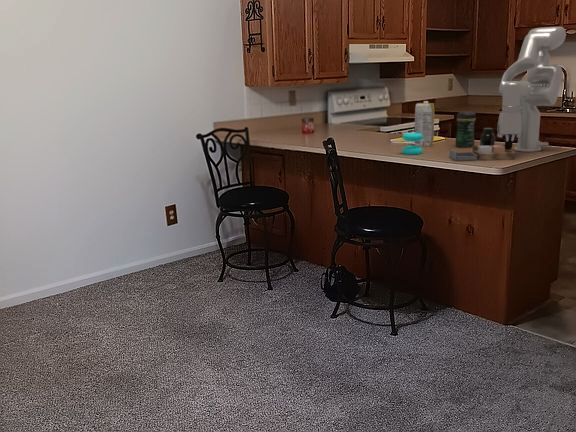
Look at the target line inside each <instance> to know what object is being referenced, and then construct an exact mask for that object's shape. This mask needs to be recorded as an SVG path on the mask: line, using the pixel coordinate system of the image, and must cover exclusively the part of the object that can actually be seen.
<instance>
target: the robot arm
mask: <svg viewBox="0 0 576 432" xmlns="http://www.w3.org/2000/svg"><path fill="white" fill-rule="evenodd" d="M566 38H567V33H566V30H565V28H564V27H563V26H548V27H547V26H544V27H536V28H532V29H530V30H529V32H528V34H526V35H525V37H524V40H523V42H522V45H521V48H520V52H519V55H518V58H517V60H516V61H515V62H513V64H512V65H510V66H509V67H508V68H507V69H506V70H505V71H504V73H503V75H502V77H501V80H500V84H499V87H498V93H499V95H500V97H502V108H501V109H502V110H501V112H499V116H498V121H497V128H496V130H497V135H496V136H497V137H498V138H500V139H501V138H502V139H503V141H504V145H505V148H506V149H507V150H509V151H511V150H512V149H513V142H514V141H515V139H517V146H514V149H513V150H514V151H515V152H524V153H526V152H528V153H535V152H541V151H542V147H548V146H549V142H548V141H547V142H546V141H544V142H543V141H541V140H539V139H540V137H539V136H540V126H541V125H540V124H541V112H540V110H539V109H538V107H537V106H540V107H542V106H543V107H544V106H545V107H547V106H548V107H550V106H553V105H555V104H556V102H557V99H558V96H559V92H560V89H561V84H562V80H563V69H562V67H561V66H560V65H559V64H550V60H551V56H550V53H549V52H548V51H553V50H555V49H557V48H558V47H559V46H561V45H562V44H564V42H565V40H566ZM524 72H527V75H526V80H513V79H514V78H515V77H516V76H517V75H519V74H522V73H524Z"/></svg>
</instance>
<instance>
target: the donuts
mask: <svg viewBox="0 0 576 432" xmlns="http://www.w3.org/2000/svg"><path fill="white" fill-rule="evenodd" d="M422 138H423V135H422V134H420V133H415V132H407V133H404V134H403V135H402V139H403V141H406V142H414V143H415V141H420V140H421V139H422ZM401 150H402V151H401V152H402V153H403V154H404V155H410V156H411V155H421V154H422V153H423V148H422V146H416V145H408V146H405V147H403V148H402V149H401Z"/></svg>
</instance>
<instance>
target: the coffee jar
mask: <svg viewBox="0 0 576 432" xmlns="http://www.w3.org/2000/svg"><path fill="white" fill-rule="evenodd" d="M476 116H477V115H476V112H475V111H469V110H468V111H460V112H458V113H457V115H456V122H457V124H456V125H457V127H456V128H457V129H456V136H455V147H457V148H473V146H475V124H476V120H477V117H476Z"/></svg>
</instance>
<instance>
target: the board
mask: <svg viewBox="0 0 576 432" xmlns="http://www.w3.org/2000/svg"><path fill="white" fill-rule="evenodd" d="M501 145H502V146H505V144H501ZM478 146H479V145H474V146H472V151H471V152H472V153H474V154H476V155H477V161H502V160H503V161H505V160H506V159H511V160H515V159H516V152H515V151H511V150H507V149H506V148H505V152H490V153H480V152H478ZM489 146H491V145H489Z"/></svg>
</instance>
